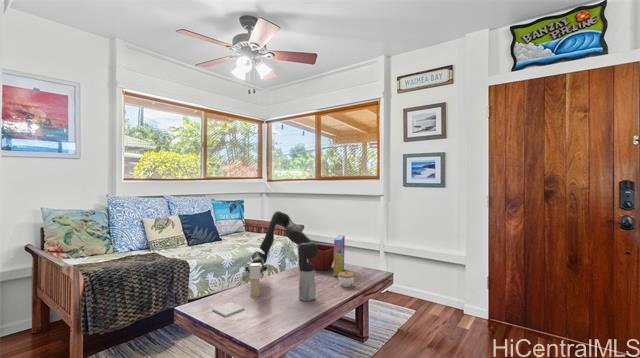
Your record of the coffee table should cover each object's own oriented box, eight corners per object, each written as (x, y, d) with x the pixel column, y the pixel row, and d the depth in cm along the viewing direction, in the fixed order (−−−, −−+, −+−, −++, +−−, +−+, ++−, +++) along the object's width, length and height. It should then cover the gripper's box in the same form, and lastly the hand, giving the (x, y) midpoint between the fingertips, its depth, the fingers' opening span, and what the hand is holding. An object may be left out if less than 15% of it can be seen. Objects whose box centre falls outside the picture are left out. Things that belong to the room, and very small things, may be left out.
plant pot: (304, 268, 245) (304, 247, 245) (316, 263, 261) (317, 243, 261) (324, 273, 235) (325, 251, 235) (336, 267, 251) (337, 246, 251)
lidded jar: (353, 288, 203) (354, 274, 203) (337, 287, 204) (337, 273, 204) (354, 283, 213) (354, 269, 213) (338, 282, 214) (338, 268, 215)
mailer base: (259, 293, 191) (259, 271, 191) (258, 296, 186) (258, 273, 186) (251, 293, 190) (251, 271, 190) (250, 296, 185) (251, 273, 185)
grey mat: (244, 309, 167) (244, 307, 167) (225, 316, 158) (225, 315, 158) (231, 303, 175) (231, 301, 175) (212, 310, 165) (212, 308, 165)
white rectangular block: (260, 275, 191) (261, 262, 191) (260, 278, 185) (260, 265, 185) (250, 276, 190) (250, 263, 191) (249, 279, 184) (249, 265, 184)
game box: (340, 277, 226) (341, 240, 226) (333, 276, 227) (333, 239, 227) (344, 269, 246) (344, 235, 246) (337, 268, 247) (337, 234, 247)
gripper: (246, 258, 201) (243, 265, 185) (268, 257, 203) (267, 264, 186) (246, 269, 201) (242, 277, 185) (268, 269, 203) (267, 277, 186)
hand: (255, 271), depth 185 cm, fingers closed on white rectangular block, 6 cm apart
